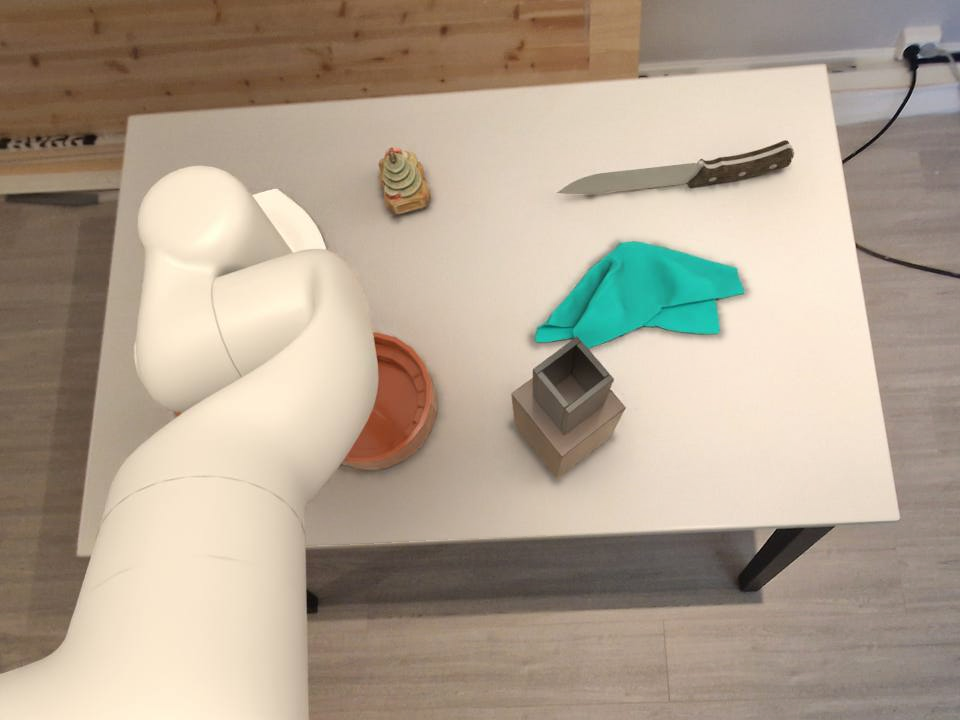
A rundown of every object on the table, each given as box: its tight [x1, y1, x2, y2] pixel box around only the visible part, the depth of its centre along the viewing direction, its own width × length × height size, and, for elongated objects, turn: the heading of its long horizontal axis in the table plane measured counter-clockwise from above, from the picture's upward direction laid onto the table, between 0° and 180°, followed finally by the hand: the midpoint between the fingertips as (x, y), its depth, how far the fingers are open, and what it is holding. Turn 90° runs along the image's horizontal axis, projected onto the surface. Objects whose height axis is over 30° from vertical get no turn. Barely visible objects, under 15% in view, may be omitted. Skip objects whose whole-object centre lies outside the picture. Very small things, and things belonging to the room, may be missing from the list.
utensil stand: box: [510, 337, 627, 479], centre depth 72 cm, size 8×8×23 cm
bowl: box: [341, 331, 438, 471], centre depth 82 cm, size 15×15×6 cm
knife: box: [556, 139, 795, 195], centre depth 89 cm, size 6×2×30 cm
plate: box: [252, 187, 327, 253], centre depth 91 cm, size 19×19×2 cm
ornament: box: [378, 146, 431, 216], centre depth 89 cm, size 8×6×10 cm
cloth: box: [534, 240, 745, 349], centre depth 86 cm, size 26×14×2 cm, turn 95°
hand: (324, 360), depth 72 cm, fingers closed
